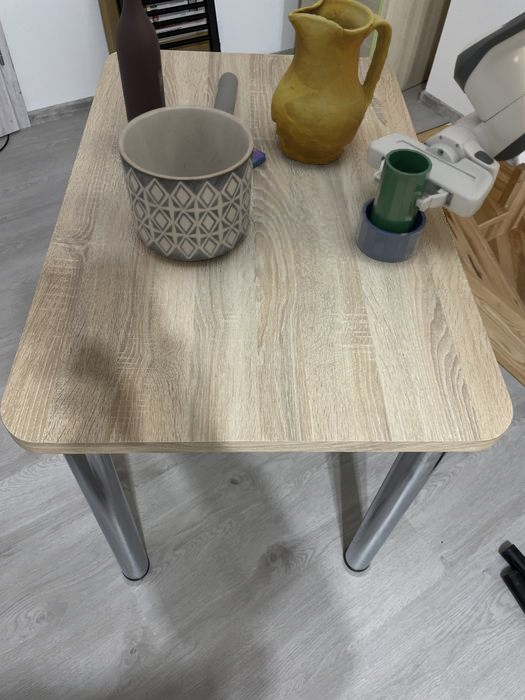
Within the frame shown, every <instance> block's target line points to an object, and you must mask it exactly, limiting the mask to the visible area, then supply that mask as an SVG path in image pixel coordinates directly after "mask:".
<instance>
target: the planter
mask: <svg viewBox="0 0 525 700" xmlns="http://www.w3.org/2000/svg"><path fill="white" fill-rule="evenodd" d="M254 148H255V137H254V134H253V133H252V130H251V129H250V128H249V126H248V125H247V124H246V123H245V122H244V121H243V120H241V119H240V118H238V117H237V116H235V115H234V114H233V115H231V114H229V113H227V112H224V111H221V110H218V109H214V107H210V106H205V105H194V104H193V105H192V104H181V105H179V104H178V105H169V106H166V107H163V108H159V109H155V110H151V111H149V112H146V113H144V114H141V115H139V116H138V117H136V118H134V119H133V120H131V121H130V122H129V123H128V122H127V123H126V124H125V125H124V126H123V128H122V129H121V131H120V133H119V134H118V137H117V149H118V152H119V153H118V154H119V158H120V164H121V168H122V173H123V176H124V182H125V186H126V191H127V192H126V193H127V196H128V201H129V207H130V210H131V211H130V212H131V216H132V219H133V225H134V228H135V232H136V234H137V237H138V238H139V240H140V241H141V243H142V244H144V245H145V247H147V248H148V249H149V250H151V251H152V252H154V253H156V254H158V255H160V256H162V257H165V258H169V259H172V260H178V261H184V262H185V261H186V262H187V261H189V262H191V261H194V262H195V261H205V260H210V259H213V258H217V257H219V256H222V255H224V254H226V253H228V252H230V251H232V250H234V249H235V248H236V247H237V246H238V245H239V244H240V243H241V242H242V241H243V239H244V238H245V236H246V235H247V233H248V230H249V225H250V215H251V214H250V212H251V211H250V210H251V197H252V184H253V183H252V181H253V168H254V167H253V153H254Z"/></svg>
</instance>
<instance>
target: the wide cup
mask: <svg viewBox="0 0 525 700" xmlns="http://www.w3.org/2000/svg"><path fill="white" fill-rule="evenodd" d="M374 200H375V197H371V198H369V199H368V200H367V201H366V202H365V203H364V204H363V206H362V208H361V211H360V215H359V220H358V224H357V229H356V232H355V242H356V244H357V247H358V248H359V249H360V251H361V252H363V253H364V254H365V255H367V256H368V257H369V258H371V259H373V260H376V261H379V262H383V263H401V262H404V261H407V260H409V259H411V258H412V257H413V256H414V255H415V254H416V252H417V250H418V247H419V244H420V242H421V239H422V237H423V233H424V231H425V228H426V224H427V221H428V220H427V216H426V214H425V213H426V212H425V211H423V212H422V211H420V210H419V209H418V211H417V214H416V217H415V220H414V223H413V226H412V229H411V232H410V233H403V234H397V233H389V232H386V231H383V230H381V229H379V228H377V227H376V226H374V225H373V224H371V222H370V221H369V220H370V216H371V212H372V208H373V204H374Z"/></svg>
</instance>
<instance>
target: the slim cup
mask: <svg viewBox="0 0 525 700" xmlns="http://www.w3.org/2000/svg"><path fill="white" fill-rule="evenodd" d="M431 169H432V162H431V160H430V158H428V157H427V156H426V155H425V154H423V153H421V152H419V151H416V150H412V149H396V150H392V151H390V152H389V153H388V154H387V155H386V157H385V161H384V165H383V169H382V173H381V177H380V181H379V184H378V186H377V188H376V193H375V200H374V204H373V208H372V212H371V216H370V220H369V221H370V222H371V224H373V225H374V226H376V227H377V228H379V229H381V230H383V231H386V232H389V233H397V234H403V233H410V232H411V229H412V226H413V223H414V220H415V217H416V214H417V211H418V209H417V208H415V207H414V206H415V204H416V200H417V198H419V197H421V195H422V194H423V193H424V190H425V187H426V184H427V181H428V178H429V175H430V172H431Z"/></svg>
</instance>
